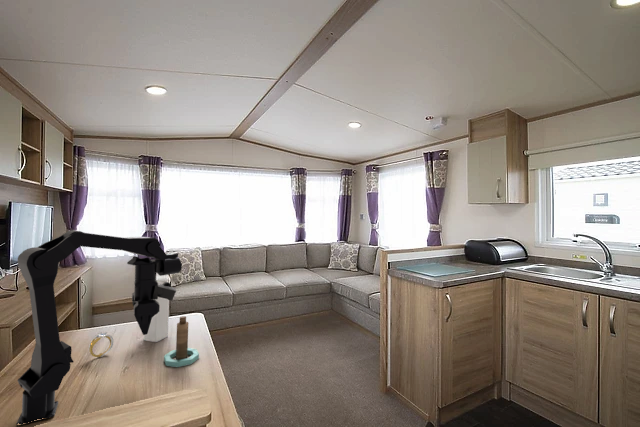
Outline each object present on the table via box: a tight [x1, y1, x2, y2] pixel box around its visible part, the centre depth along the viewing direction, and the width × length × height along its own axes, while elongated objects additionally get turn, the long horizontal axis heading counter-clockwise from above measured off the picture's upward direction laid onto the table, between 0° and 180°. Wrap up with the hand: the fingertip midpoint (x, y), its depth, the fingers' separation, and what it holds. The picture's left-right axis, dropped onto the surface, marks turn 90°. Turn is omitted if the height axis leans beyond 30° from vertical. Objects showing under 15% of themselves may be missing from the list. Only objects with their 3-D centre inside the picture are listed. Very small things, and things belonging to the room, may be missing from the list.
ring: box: [88, 331, 114, 358], centre depth 102 cm, size 7×3×8 cm, turn 145°
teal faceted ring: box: [163, 347, 200, 368], centre depth 102 cm, size 10×10×2 cm
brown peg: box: [175, 315, 189, 360], centre depth 102 cm, size 4×4×14 cm
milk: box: [143, 280, 170, 343], centre depth 118 cm, size 6×6×22 cm
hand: (144, 329), depth 93 cm, fingers open, 9 cm apart
